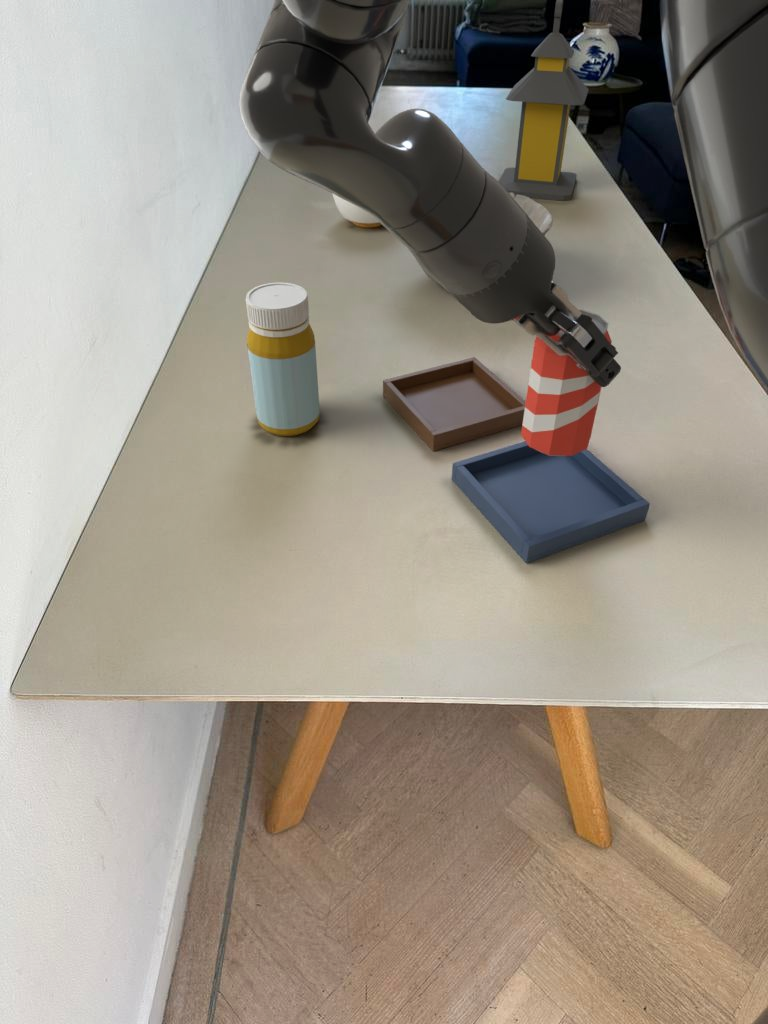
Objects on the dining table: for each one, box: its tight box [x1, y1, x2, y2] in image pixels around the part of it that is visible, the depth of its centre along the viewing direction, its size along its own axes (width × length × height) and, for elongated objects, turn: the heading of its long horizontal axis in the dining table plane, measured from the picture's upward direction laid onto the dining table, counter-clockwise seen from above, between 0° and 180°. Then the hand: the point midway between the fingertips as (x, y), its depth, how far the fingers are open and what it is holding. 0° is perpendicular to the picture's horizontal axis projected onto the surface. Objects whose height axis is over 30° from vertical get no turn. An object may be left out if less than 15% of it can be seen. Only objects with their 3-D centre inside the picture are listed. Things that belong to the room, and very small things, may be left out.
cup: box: [331, 193, 383, 228], centre depth 129 cm, size 12×12×10 cm
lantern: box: [498, 0, 589, 202], centre depth 136 cm, size 14×14×30 cm
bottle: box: [245, 281, 321, 437], centre depth 81 cm, size 7×7×15 cm
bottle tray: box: [382, 356, 526, 452], centre depth 87 cm, size 12×12×2 cm
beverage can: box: [520, 308, 612, 456], centre depth 66 cm, size 6×6×12 cm
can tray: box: [451, 440, 651, 564], centre depth 74 cm, size 14×14×2 cm
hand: (584, 357), depth 65 cm, fingers closed on beverage can, 6 cm apart
